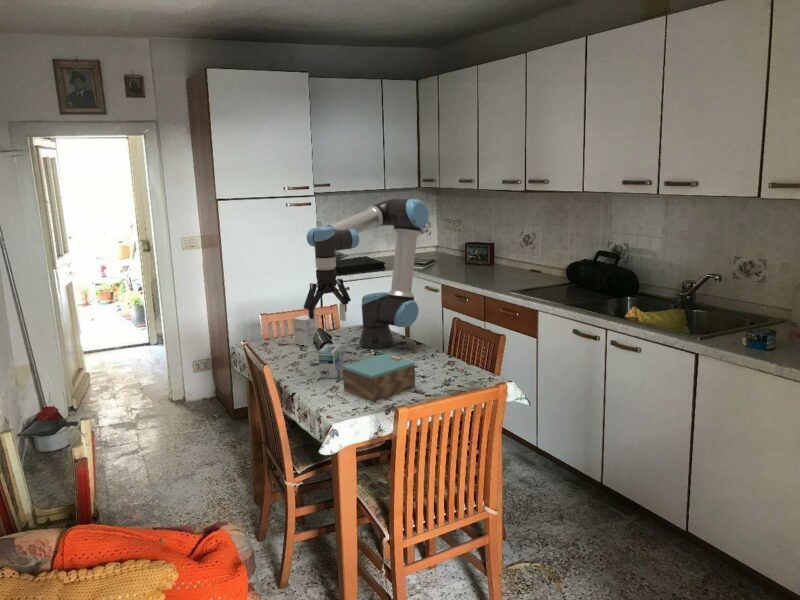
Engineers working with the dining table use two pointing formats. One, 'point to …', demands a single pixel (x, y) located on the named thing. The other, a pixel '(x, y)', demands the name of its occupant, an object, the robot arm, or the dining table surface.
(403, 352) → the dining table surface
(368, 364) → the chest lid
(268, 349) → the dining table surface
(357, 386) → the walnut chest
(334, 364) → the light bulb box
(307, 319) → the supplement box
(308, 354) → the dining table surface
